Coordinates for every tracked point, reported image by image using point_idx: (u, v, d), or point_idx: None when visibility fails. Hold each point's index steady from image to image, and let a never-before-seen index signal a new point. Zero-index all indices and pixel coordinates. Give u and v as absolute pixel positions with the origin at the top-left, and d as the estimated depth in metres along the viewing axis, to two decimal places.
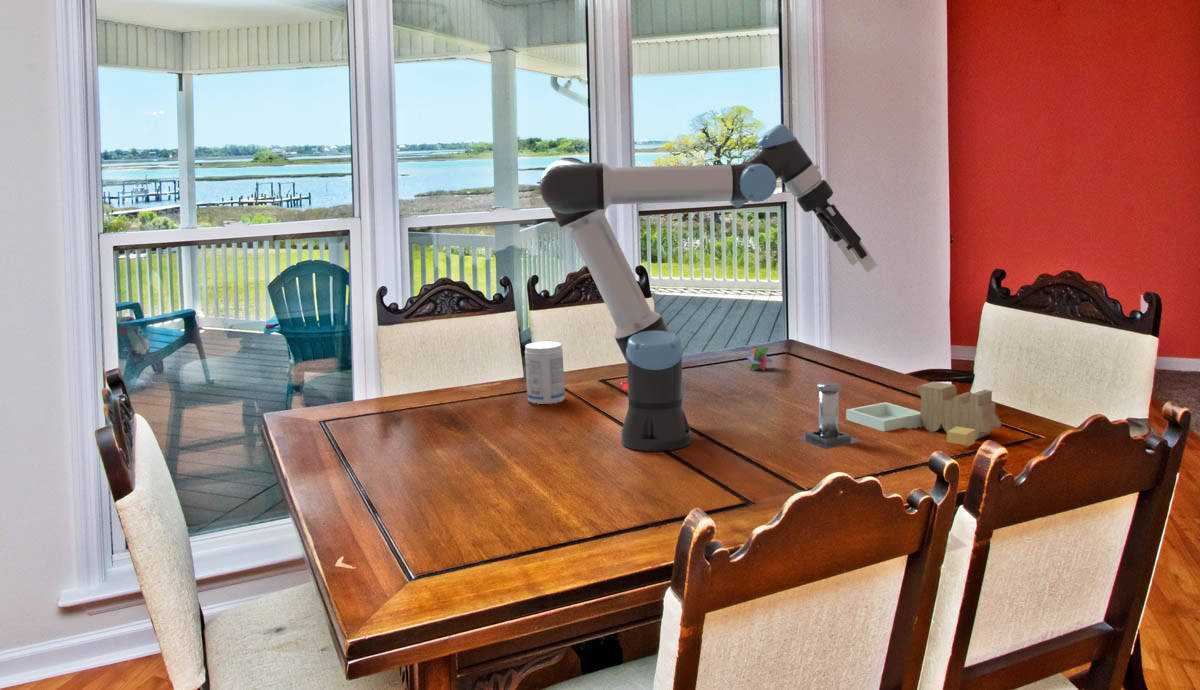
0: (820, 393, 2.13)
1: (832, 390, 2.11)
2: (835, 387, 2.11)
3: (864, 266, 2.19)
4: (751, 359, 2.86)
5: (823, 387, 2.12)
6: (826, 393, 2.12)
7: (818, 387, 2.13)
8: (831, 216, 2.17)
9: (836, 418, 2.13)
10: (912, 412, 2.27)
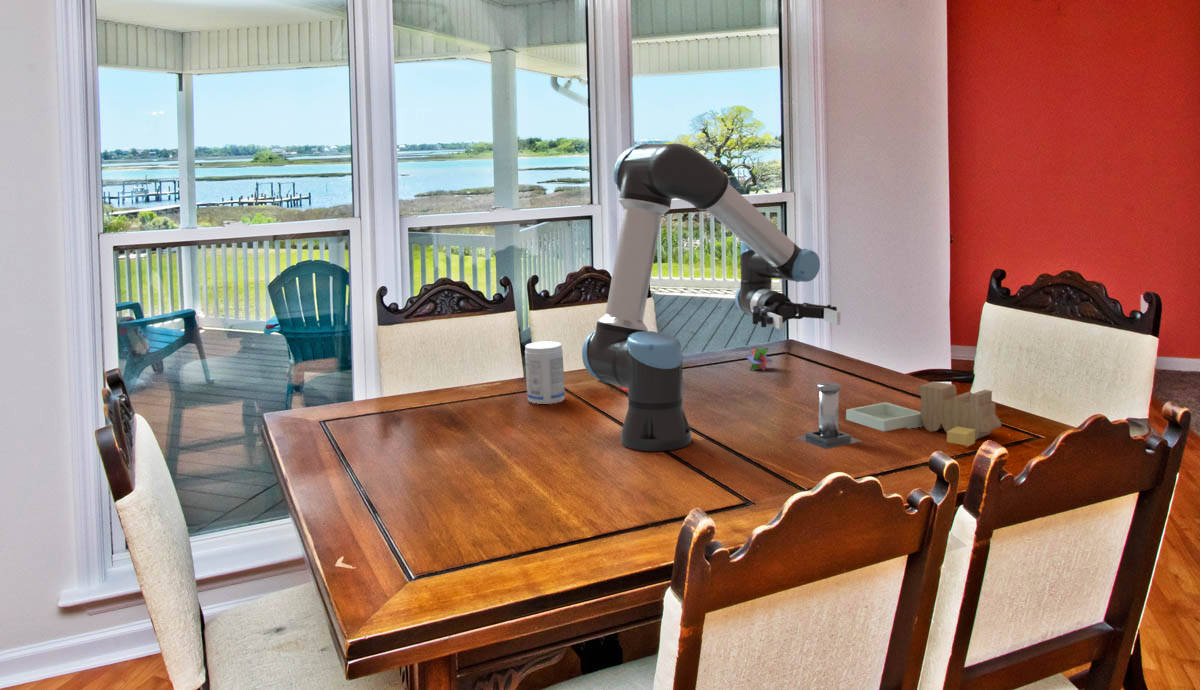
0: (820, 393, 2.13)
1: (832, 390, 2.11)
2: (835, 387, 2.11)
3: None
4: (751, 359, 2.86)
5: (823, 387, 2.12)
6: (826, 393, 2.12)
7: (818, 387, 2.13)
8: None
9: (836, 418, 2.13)
10: (912, 412, 2.27)
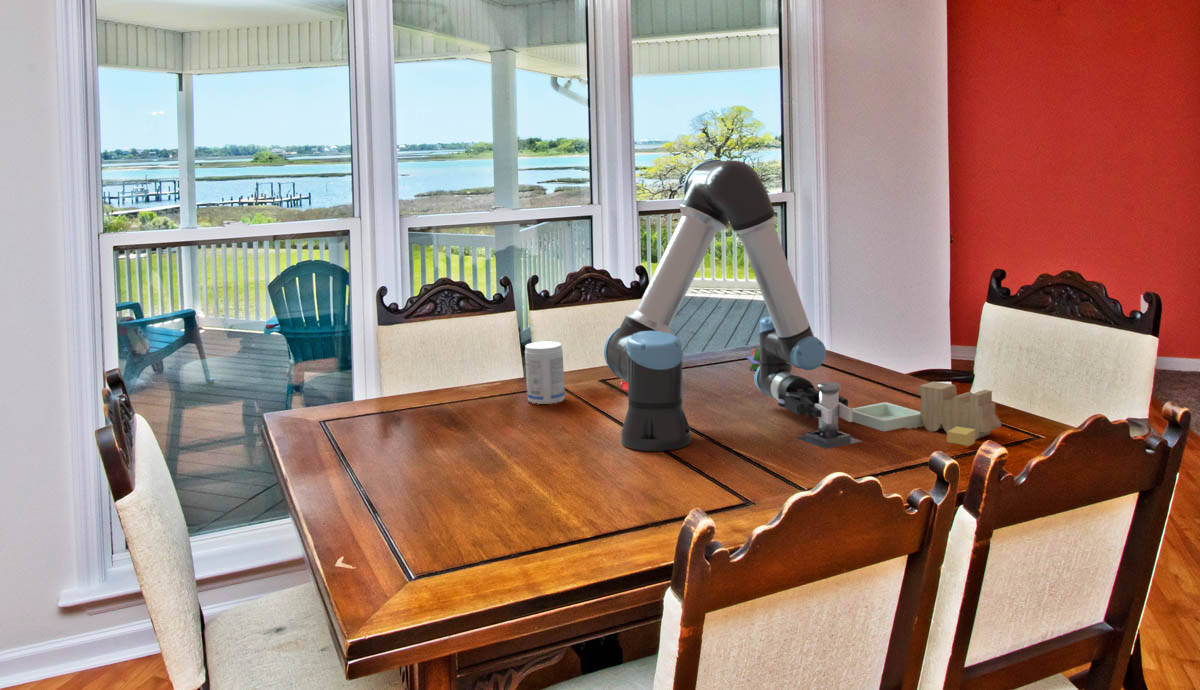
0: (820, 393, 2.13)
1: (832, 390, 2.11)
2: (835, 387, 2.11)
3: None
4: (751, 359, 2.86)
5: (823, 387, 2.12)
6: (826, 393, 2.12)
7: (818, 387, 2.13)
8: None
9: (836, 418, 2.13)
10: (912, 412, 2.27)
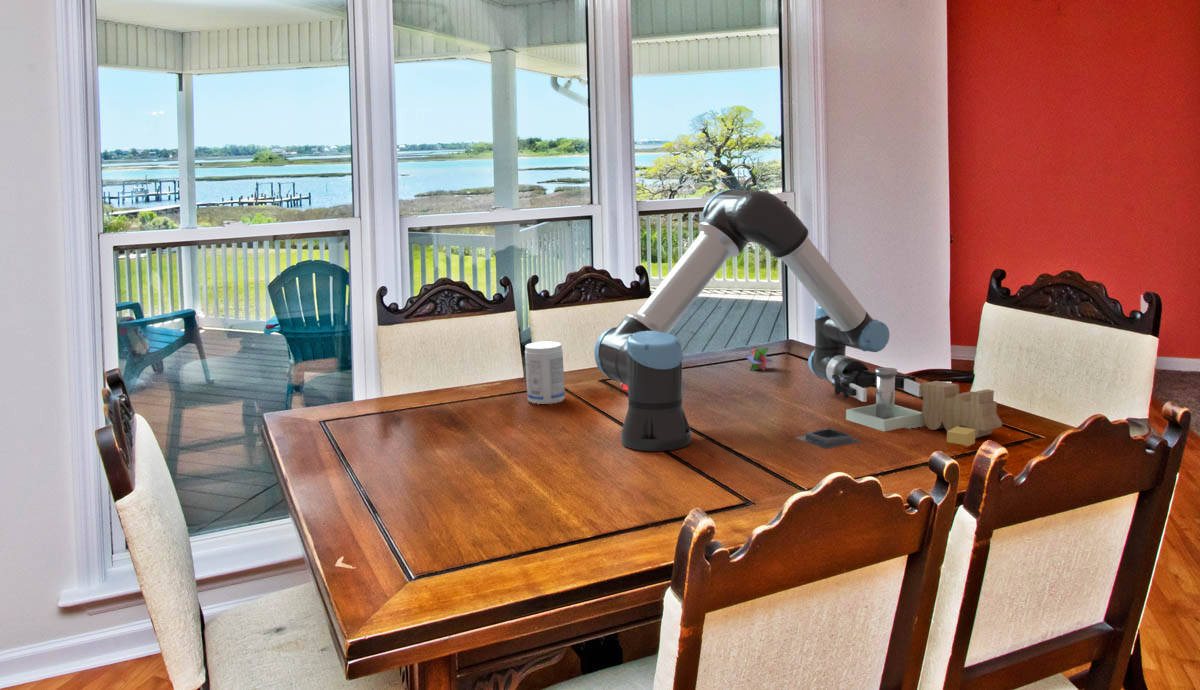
0: (877, 378, 2.26)
1: (889, 374, 2.24)
2: (892, 372, 2.24)
3: None
4: (751, 359, 2.86)
5: (881, 372, 2.25)
6: (884, 377, 2.25)
7: (876, 372, 2.26)
8: None
9: (893, 401, 2.26)
10: (912, 412, 2.27)
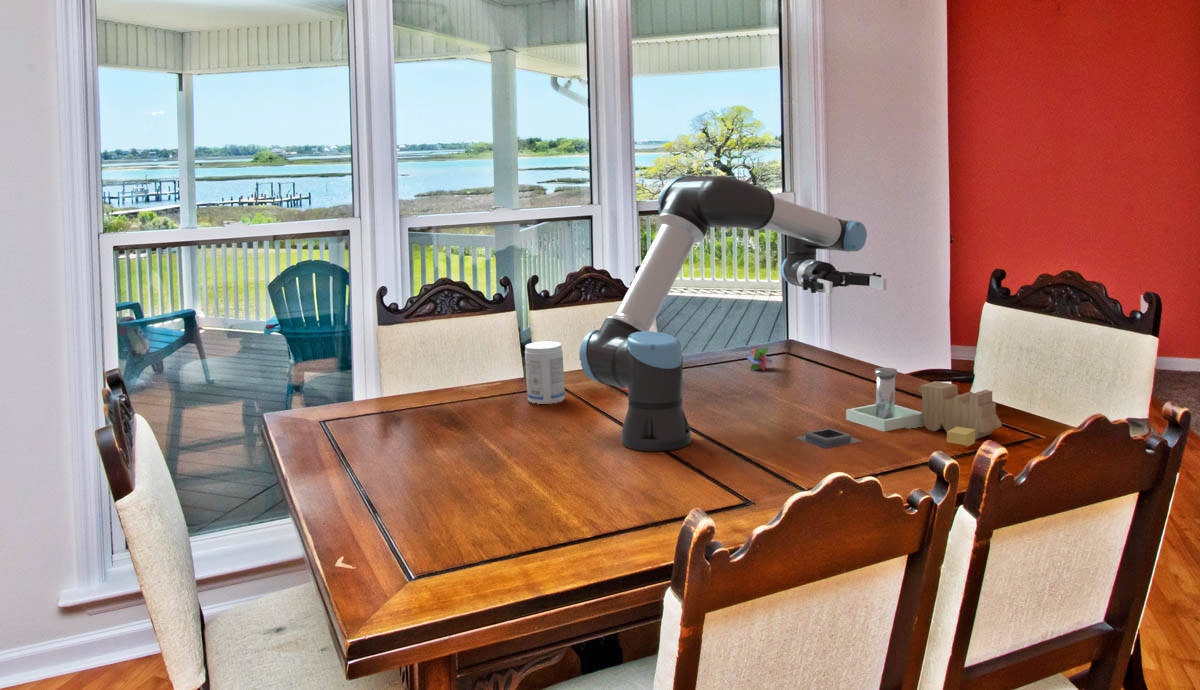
0: (878, 378, 2.26)
1: (889, 375, 2.24)
2: (892, 372, 2.24)
3: None
4: (751, 359, 2.86)
5: (881, 373, 2.24)
6: (884, 378, 2.24)
7: (876, 373, 2.25)
8: None
9: (893, 402, 2.26)
10: (912, 412, 2.27)
